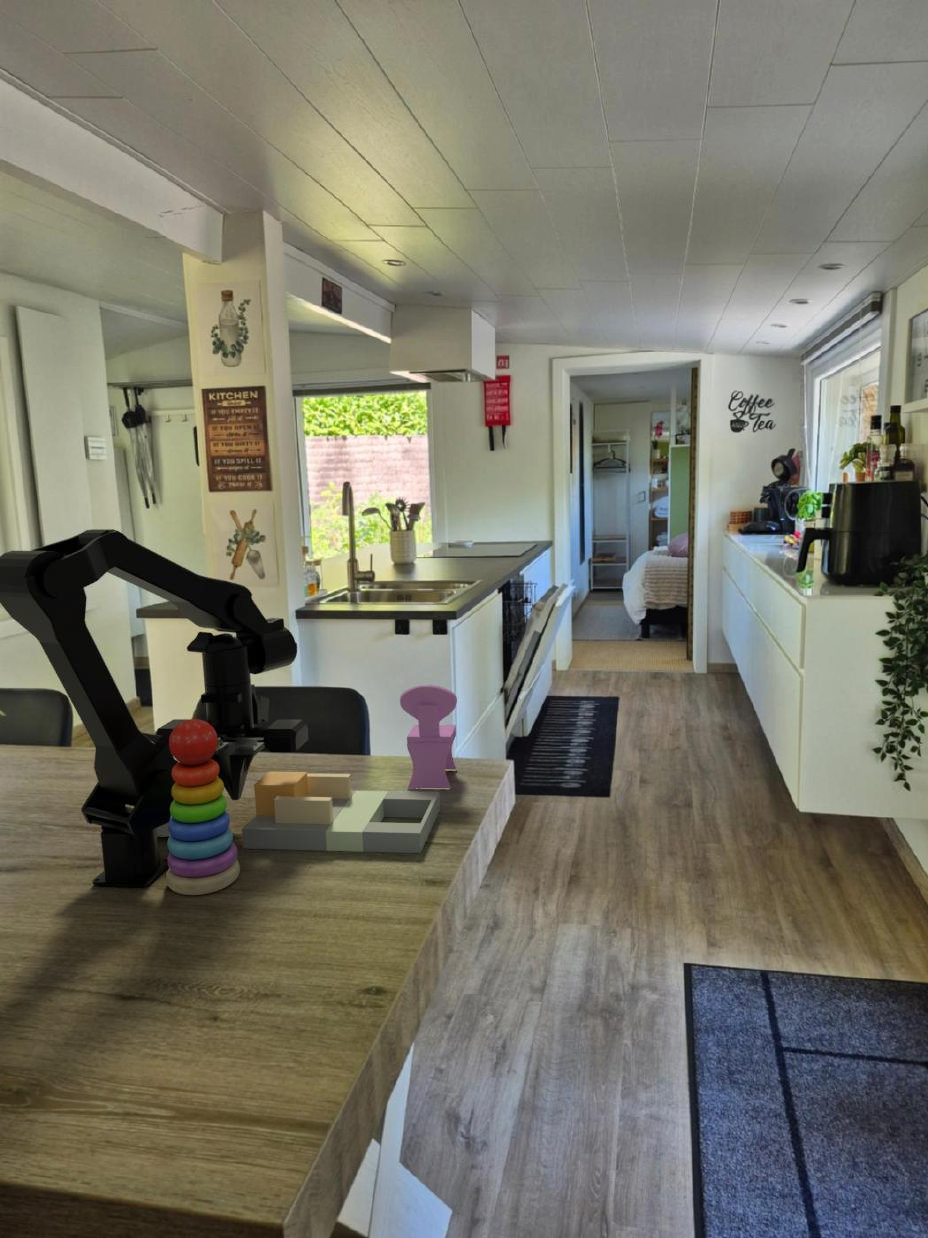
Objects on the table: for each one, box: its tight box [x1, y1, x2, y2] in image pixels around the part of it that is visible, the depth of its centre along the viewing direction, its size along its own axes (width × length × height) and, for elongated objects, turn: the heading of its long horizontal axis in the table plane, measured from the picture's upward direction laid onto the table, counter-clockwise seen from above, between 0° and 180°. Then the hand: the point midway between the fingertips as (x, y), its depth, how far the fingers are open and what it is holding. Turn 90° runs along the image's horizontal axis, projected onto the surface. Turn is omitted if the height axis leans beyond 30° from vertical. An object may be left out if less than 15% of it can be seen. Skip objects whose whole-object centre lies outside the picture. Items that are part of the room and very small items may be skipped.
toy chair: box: [399, 684, 458, 790], centre depth 127 cm, size 8×9×15 cm
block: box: [253, 771, 308, 816], centre depth 111 cm, size 5×5×4 cm
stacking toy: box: [165, 718, 241, 896], centre depth 95 cm, size 8×8×19 cm
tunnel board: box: [241, 772, 441, 854], centre depth 110 cm, size 14×22×6 cm, turn 82°
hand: (236, 799), depth 112 cm, fingers closed
